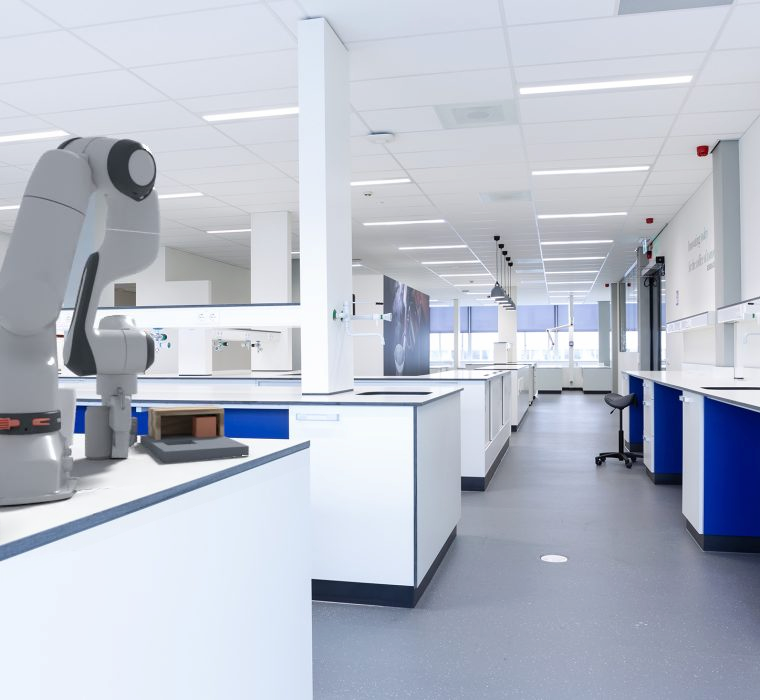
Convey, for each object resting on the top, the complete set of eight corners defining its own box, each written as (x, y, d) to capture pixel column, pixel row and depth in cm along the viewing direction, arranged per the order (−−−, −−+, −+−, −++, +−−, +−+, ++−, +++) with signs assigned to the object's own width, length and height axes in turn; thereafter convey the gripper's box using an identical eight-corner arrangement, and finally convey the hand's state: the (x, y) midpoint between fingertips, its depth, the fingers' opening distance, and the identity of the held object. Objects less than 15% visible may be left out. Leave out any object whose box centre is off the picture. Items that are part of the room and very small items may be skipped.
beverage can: (104, 460, 157) (104, 407, 157) (78, 459, 158) (78, 406, 158) (120, 456, 163) (120, 405, 163) (95, 455, 164) (95, 404, 164)
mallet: (137, 444, 183) (137, 418, 183) (123, 445, 182) (123, 418, 182) (129, 439, 195) (129, 414, 195) (116, 439, 194) (116, 414, 194)
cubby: (224, 436, 182) (224, 408, 182) (156, 439, 174) (156, 411, 174) (212, 431, 192) (212, 405, 192) (148, 434, 184) (148, 407, 184)
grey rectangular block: (148, 457, 161) (150, 427, 162) (111, 457, 158) (114, 426, 158) (132, 446, 180) (134, 419, 180) (99, 446, 176) (101, 418, 176)
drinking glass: (81, 445, 182) (81, 387, 182) (67, 448, 175) (67, 389, 175) (56, 445, 183) (56, 387, 183) (41, 448, 176) (41, 389, 176)
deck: (248, 456, 162) (248, 446, 162) (164, 462, 154) (164, 451, 154) (212, 440, 192) (212, 431, 192) (140, 444, 183) (140, 435, 183)
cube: (215, 436, 181) (215, 417, 181) (196, 437, 179) (196, 417, 179) (211, 434, 185) (211, 415, 185) (192, 435, 183) (192, 416, 183)
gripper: (138, 388, 152) (138, 452, 152) (125, 384, 170) (125, 441, 170) (107, 389, 149) (107, 454, 149) (97, 385, 167) (97, 442, 167)
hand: (117, 447), depth 160 cm, fingers open, 7 cm apart
